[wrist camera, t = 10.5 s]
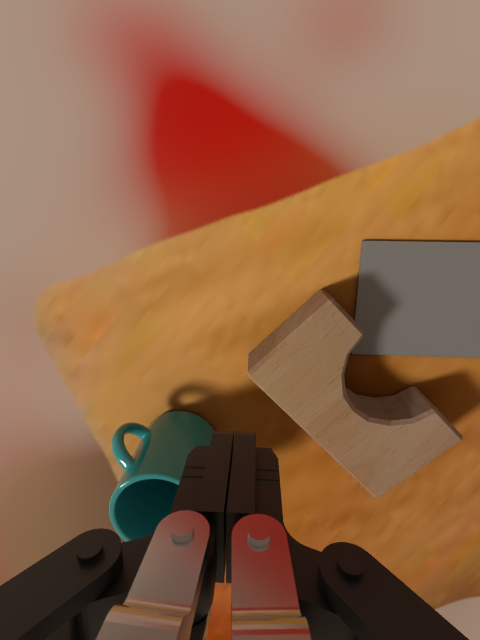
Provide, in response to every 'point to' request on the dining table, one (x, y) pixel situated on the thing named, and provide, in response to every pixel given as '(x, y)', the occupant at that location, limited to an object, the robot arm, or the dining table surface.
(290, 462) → the dining table surface
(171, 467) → the cup
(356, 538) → the dining table surface
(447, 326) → the mat
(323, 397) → the decorative block
